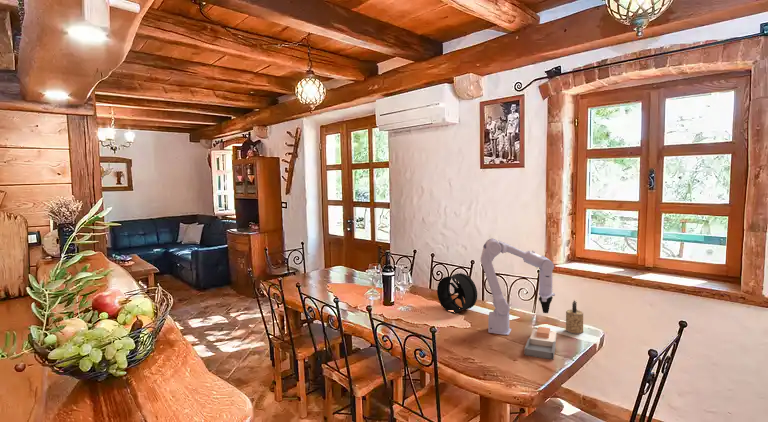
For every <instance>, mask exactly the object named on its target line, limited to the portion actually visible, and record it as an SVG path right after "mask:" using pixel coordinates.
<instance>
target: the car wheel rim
mask: <svg viewBox="0 0 768 422" xmlns="http://www.w3.org/2000/svg"><path fill="white" fill-rule="evenodd" d="M451 281H453V282H451ZM451 286H452V288H453V293H451V289H450V288H451ZM477 290H478V289H477V286H476V284H475V282H474V280H472V278H471V277H470V276H469V275H467V274H465V273H462V272H461V273H458V272H457V273H454V274H453V275H450V276H444V277H443V278H441V279H440V280H439V282H438V284H437V289H436V294H437V295H436V296H437V299H438V301H439V304H440V305H441V307H442V308H443V309H444V310H445V311H447V310H454V312H455V313H454V314H457V313H461V312H462V311H465V310H469V309H471V308H473V307H474V306H475V305H476V303H477V300H478V291H477ZM456 294H457V296H456V297H455V298H453V297H452V296H454V295H456ZM457 299H458V300H459V301H461V303H460V304H461V306H460V305H458V303H456V302H457V301H456V300H457ZM459 308H460V309H459Z"/></svg>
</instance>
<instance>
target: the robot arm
mask: <svg viewBox="0 0 768 422" xmlns="http://www.w3.org/2000/svg"><path fill="white" fill-rule="evenodd" d="M501 253H502V254H504V253H505V254H506V253H508V254H511V255H514V256H516V257H519V258H521V259H522V260H523V262H524V263H525V264H528V265H530V266H533V267H535V268H539V270H538V271H539V273H538V276H539V278H538V280H539V281H538V286H539V287H538V289H539V290H538V291H539V292H538V295H539V296H538V301H539V303H540V305H541V309H542V312H543V314H549V311H550V306H551V303H552V302H553V301H552V300H553V297H555V296H556V293H555V292H554V293H553V270H554V269H555V264H554V262H553V261H552V260H550V259H549V258H547V257H546V256H545V255H540V254H538V253H536V251H534V250H527V251H524V250H522V249H520V248H517V247H516V246H514V245H511V244H509V243H508V242H507V243H506V242H505V241H502V240H497V239H496V238H488V239H487V240H486V242H485V243H484V244H483V247H482V252H481V256H480V262H481V265H482V268H483V271H484V274H485V277H486V281H487V283H488V286H489V288H490V291H491V296H492V299H493V301H492V303H493V304H492V305H493V307H494V309H493V311H490V312H489V313H488V317H487V318H488V319H487V321H488V326H487V327H488V328H487V329H488V331H487V332H488V333H490V334H498V335H504V336H509V335H510V333H511V331H512V328H510V310H511V308H510V305H509V304H508V302H507V300H506V298H505V297H504V295H503V291H502V289H501V286H500V283H499V280H498V277H497V274H496V271H495V269H494V265H493V261H494V260H495V257H497V256H499V254H501Z"/></svg>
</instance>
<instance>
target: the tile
mask: <svg viewBox="0 0 768 422" xmlns="http://www.w3.org/2000/svg"><path fill="white" fill-rule="evenodd" d="M550 331H551V328H550V327H544V326H537V337H544V338H549V336H550Z"/></svg>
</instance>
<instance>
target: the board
mask: <svg viewBox="0 0 768 422" xmlns="http://www.w3.org/2000/svg"><path fill="white" fill-rule="evenodd" d="M537 330H538V328H537V329H535V328H533V329H532V331H531V334H530V337H529V338H530V344H536V345H543V346H550V347H552V346H553V342H554V341H555V342H556V341H557V336H558V335H557V331H551V330H550V336H549V338H544V337H537ZM556 343H557V342H556Z"/></svg>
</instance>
